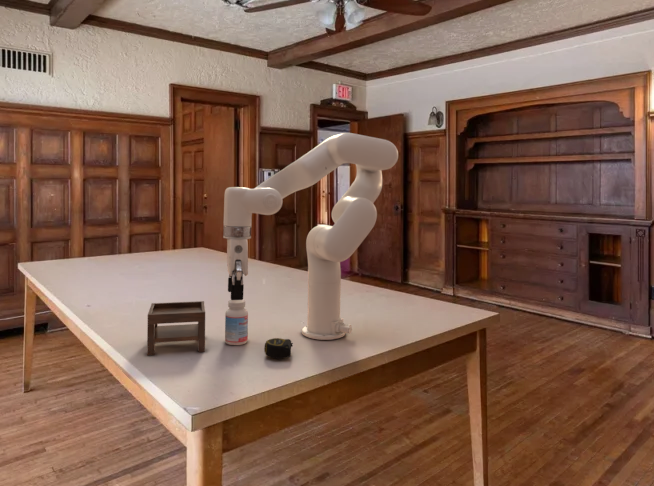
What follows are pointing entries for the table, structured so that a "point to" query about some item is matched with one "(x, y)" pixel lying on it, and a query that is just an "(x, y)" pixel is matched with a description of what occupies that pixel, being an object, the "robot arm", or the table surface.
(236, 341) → the pill bottle
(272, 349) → the tape measure
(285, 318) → the table surface
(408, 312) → the table surface
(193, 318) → the rack
